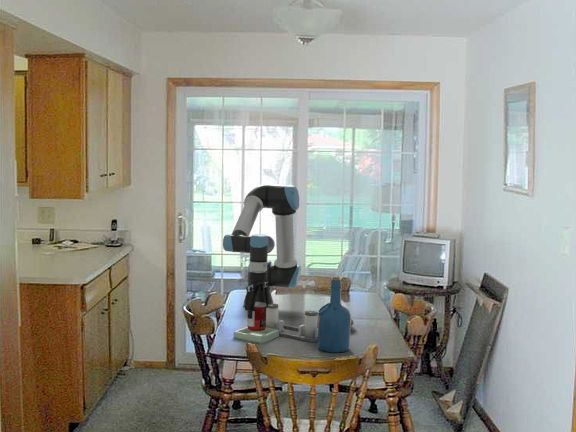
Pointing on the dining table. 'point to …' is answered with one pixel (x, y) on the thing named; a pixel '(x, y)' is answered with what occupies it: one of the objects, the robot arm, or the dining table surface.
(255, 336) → the tray
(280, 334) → the fuse block
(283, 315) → the dining table surface
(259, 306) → the canned food
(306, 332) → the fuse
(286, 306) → the dining table surface
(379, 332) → the dining table surface
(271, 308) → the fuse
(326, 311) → the wine bottle
